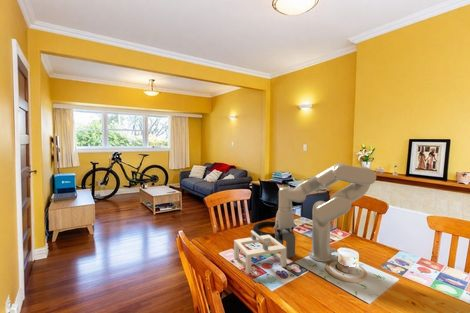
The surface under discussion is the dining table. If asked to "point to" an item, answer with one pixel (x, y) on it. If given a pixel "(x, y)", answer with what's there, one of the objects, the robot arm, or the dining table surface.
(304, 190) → the robot arm
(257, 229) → the cable lock
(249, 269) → the cream frame with rod
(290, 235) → the grey piece
